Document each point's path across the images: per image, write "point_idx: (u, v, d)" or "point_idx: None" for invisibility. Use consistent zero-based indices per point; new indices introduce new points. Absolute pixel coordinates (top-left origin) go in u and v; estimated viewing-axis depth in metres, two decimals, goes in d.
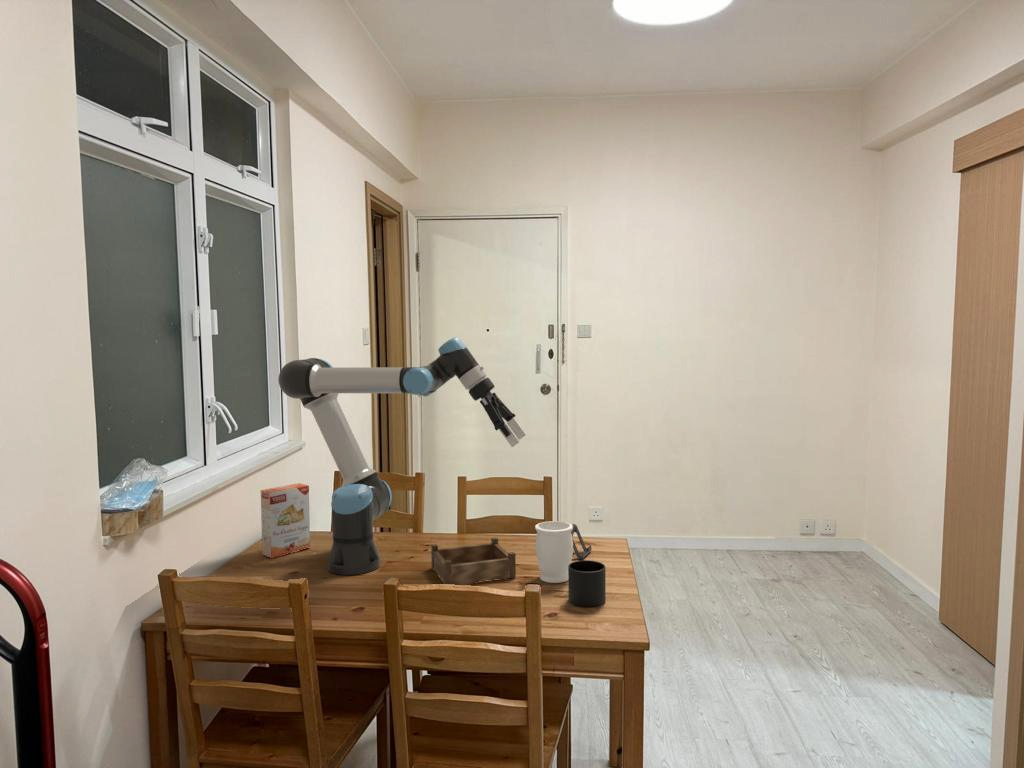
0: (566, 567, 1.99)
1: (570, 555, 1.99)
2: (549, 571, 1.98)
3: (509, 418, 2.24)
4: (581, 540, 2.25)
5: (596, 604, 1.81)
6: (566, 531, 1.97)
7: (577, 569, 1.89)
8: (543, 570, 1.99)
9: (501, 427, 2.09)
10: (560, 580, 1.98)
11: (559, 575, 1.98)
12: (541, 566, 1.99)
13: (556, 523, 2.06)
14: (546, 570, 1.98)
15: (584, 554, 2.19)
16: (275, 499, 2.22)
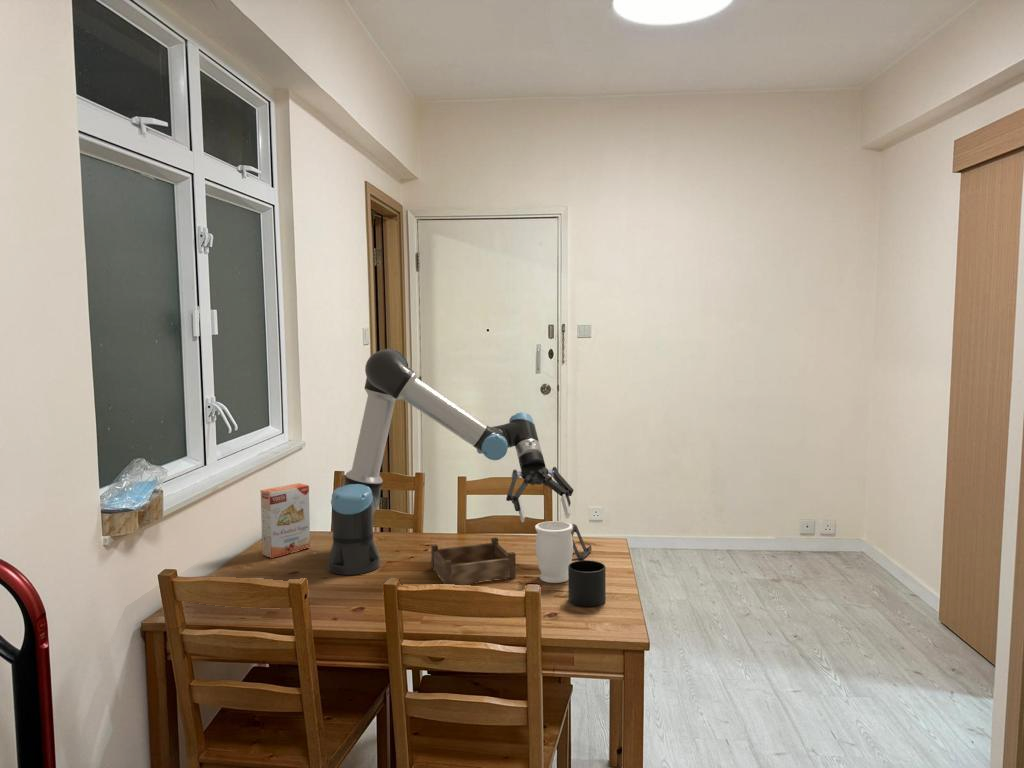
0: (566, 567, 1.99)
1: (570, 555, 1.99)
2: (549, 571, 1.98)
3: None
4: (581, 540, 2.25)
5: (596, 604, 1.81)
6: (566, 531, 1.97)
7: (577, 569, 1.89)
8: (543, 570, 1.99)
9: (513, 501, 2.11)
10: (560, 580, 1.98)
11: (559, 575, 1.98)
12: (541, 566, 1.99)
13: (556, 523, 2.06)
14: (546, 570, 1.98)
15: (584, 554, 2.19)
16: (275, 499, 2.22)
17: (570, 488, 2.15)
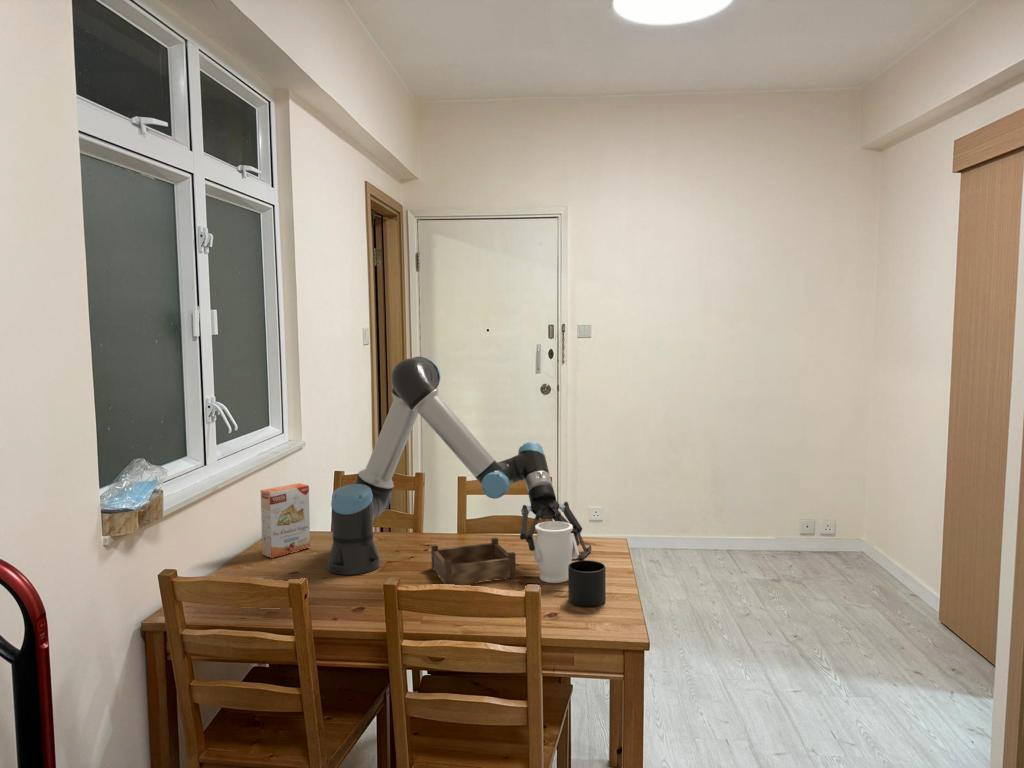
0: (566, 567, 1.99)
1: (570, 555, 1.99)
2: (549, 571, 1.98)
3: (572, 533, 2.05)
4: (581, 540, 2.25)
5: (596, 604, 1.81)
6: (566, 531, 1.97)
7: (577, 569, 1.89)
8: (543, 570, 1.99)
9: (527, 539, 2.01)
10: (560, 580, 1.98)
11: (559, 575, 1.98)
12: (541, 566, 1.99)
13: (556, 523, 2.06)
14: (546, 570, 1.98)
15: (584, 554, 2.19)
16: (275, 499, 2.22)
17: (579, 526, 2.05)
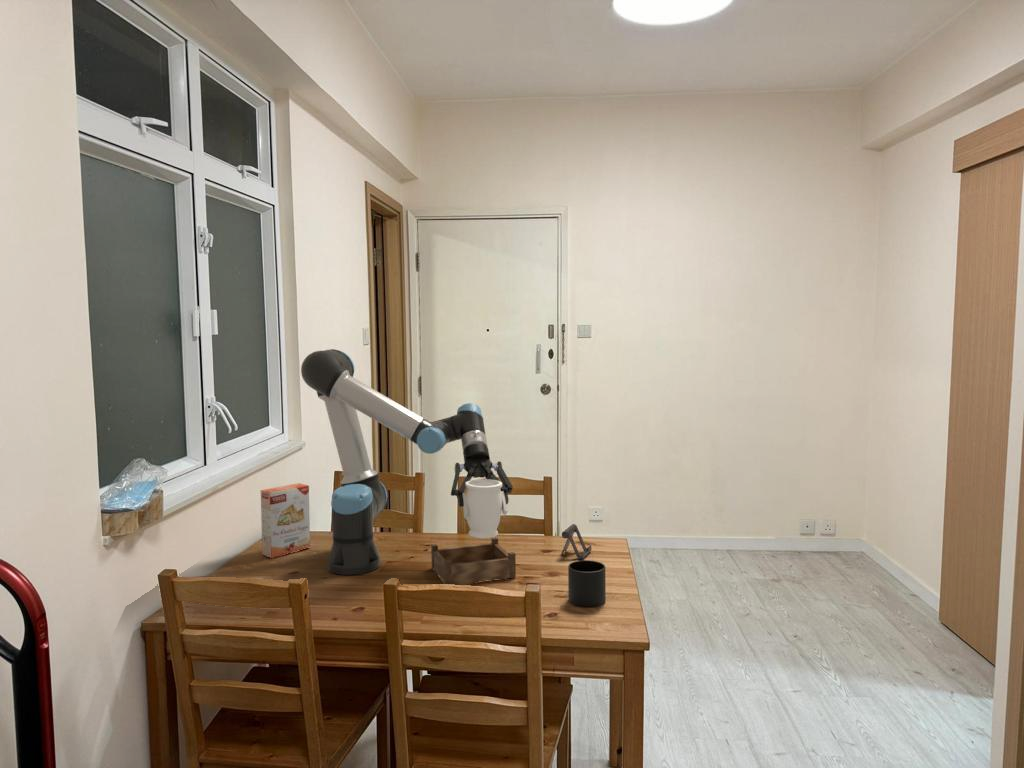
0: (494, 523, 2.02)
1: (498, 512, 2.02)
2: (477, 526, 2.01)
3: None
4: (581, 540, 2.25)
5: (596, 604, 1.81)
6: (494, 487, 2.00)
7: (577, 569, 1.89)
8: (471, 525, 2.02)
9: (457, 495, 2.04)
10: (487, 536, 2.02)
11: (486, 531, 2.02)
12: (469, 521, 2.02)
13: (487, 481, 2.09)
14: (474, 525, 2.01)
15: (584, 554, 2.19)
16: (275, 499, 2.22)
17: (510, 485, 2.08)
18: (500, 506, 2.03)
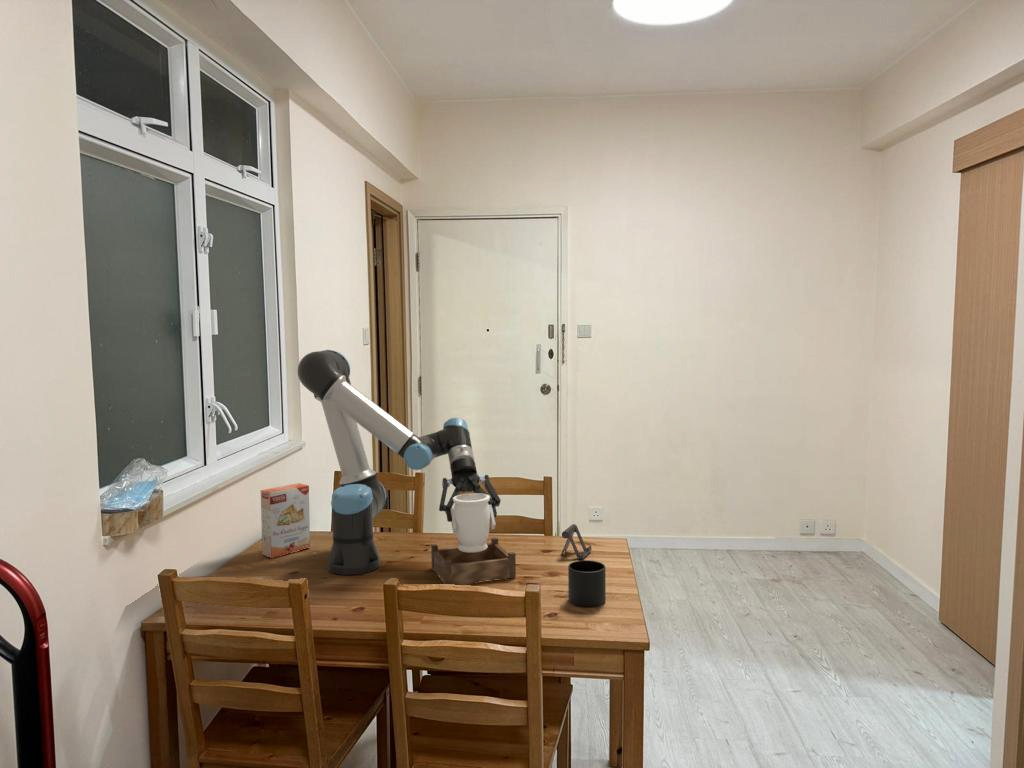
0: (482, 537, 2.03)
1: (486, 525, 2.04)
2: (466, 541, 2.02)
3: None
4: (581, 540, 2.25)
5: (596, 604, 1.81)
6: (481, 501, 2.02)
7: (577, 569, 1.89)
8: (460, 540, 2.03)
9: (445, 511, 2.06)
10: (477, 550, 2.03)
11: (476, 545, 2.03)
12: (458, 536, 2.04)
13: (475, 495, 2.10)
14: (463, 540, 2.03)
15: (584, 554, 2.19)
16: (275, 499, 2.22)
17: (497, 498, 2.10)
18: (488, 520, 2.04)
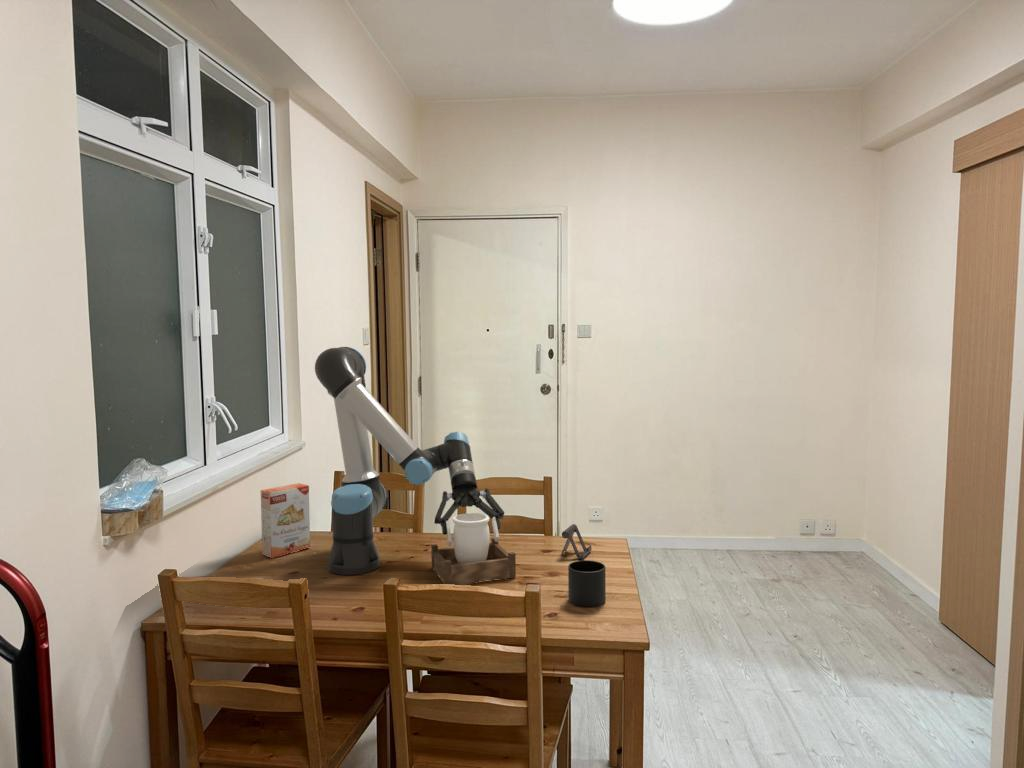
0: (481, 558, 2.04)
1: (486, 546, 2.04)
2: (465, 561, 2.03)
3: (494, 517, 2.10)
4: (581, 540, 2.25)
5: (596, 604, 1.81)
6: (481, 522, 2.02)
7: (577, 569, 1.89)
8: (459, 560, 2.04)
9: (441, 523, 2.06)
10: None
11: None
12: (457, 556, 2.04)
13: (475, 515, 2.11)
14: (462, 560, 2.03)
15: (584, 554, 2.19)
16: (275, 499, 2.22)
17: (501, 511, 2.11)
18: (487, 540, 2.05)
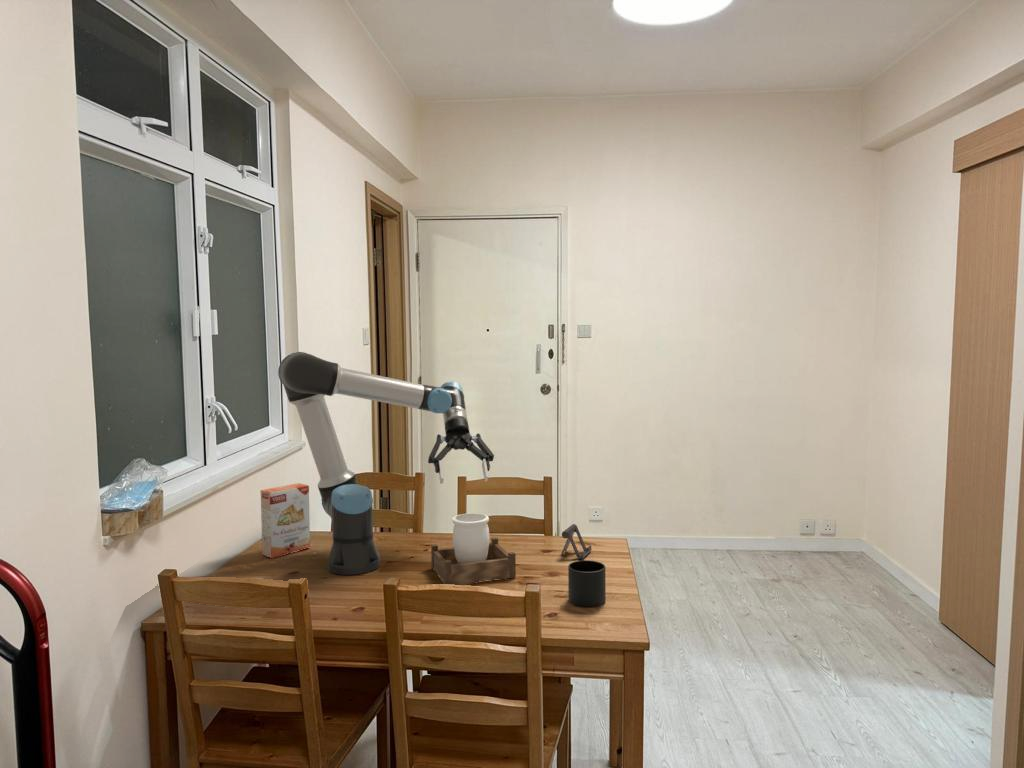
0: (481, 558, 2.04)
1: (485, 546, 2.04)
2: (464, 562, 2.03)
3: None
4: (581, 540, 2.25)
5: (596, 604, 1.81)
6: (481, 523, 2.02)
7: (577, 569, 1.89)
8: (459, 561, 2.04)
9: (434, 463, 2.20)
10: None
11: None
12: (457, 557, 2.04)
13: (474, 515, 2.11)
14: (462, 561, 2.03)
15: (584, 554, 2.19)
16: (275, 499, 2.22)
17: (491, 453, 2.25)
18: (487, 540, 2.05)
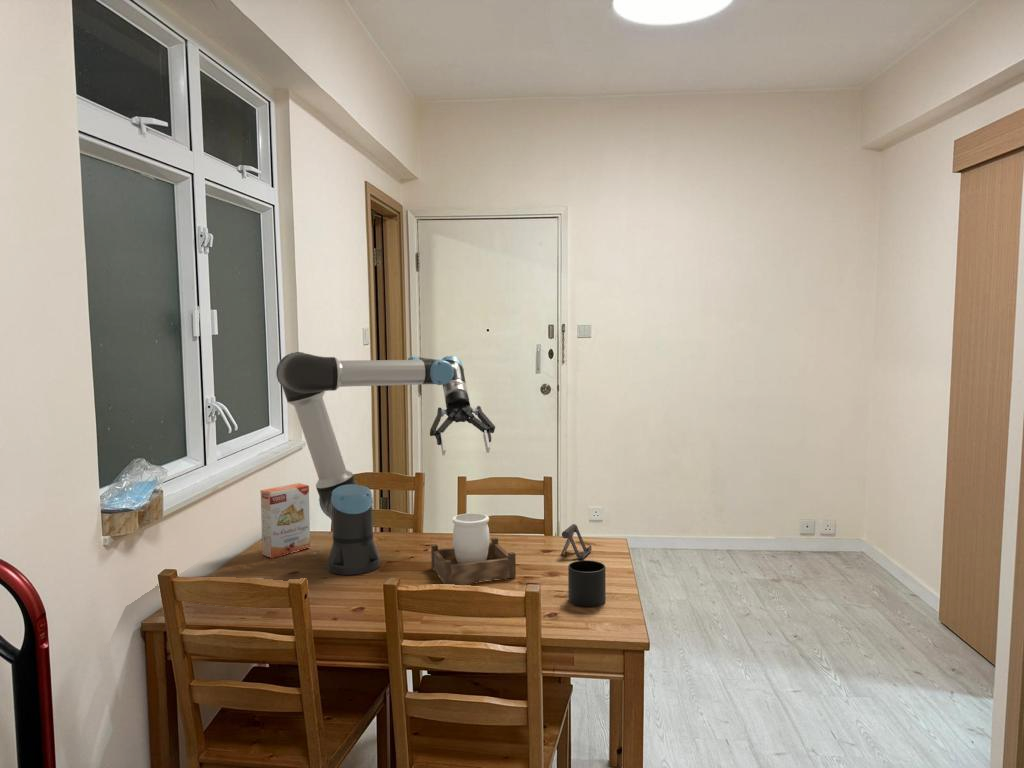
0: (481, 558, 2.04)
1: (486, 546, 2.04)
2: (465, 562, 2.03)
3: None
4: (581, 540, 2.25)
5: (596, 604, 1.81)
6: (481, 522, 2.02)
7: (577, 569, 1.89)
8: (459, 561, 2.04)
9: (436, 435, 2.21)
10: None
11: None
12: (457, 557, 2.04)
13: (474, 515, 2.11)
14: (462, 561, 2.03)
15: (584, 554, 2.19)
16: (275, 499, 2.22)
17: (492, 425, 2.26)
18: (487, 540, 2.05)
